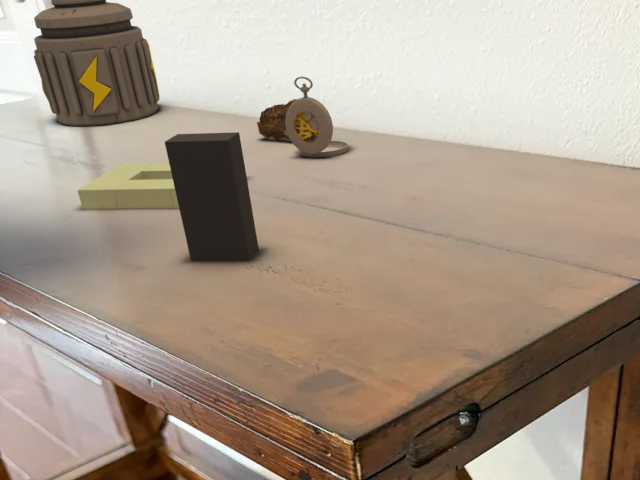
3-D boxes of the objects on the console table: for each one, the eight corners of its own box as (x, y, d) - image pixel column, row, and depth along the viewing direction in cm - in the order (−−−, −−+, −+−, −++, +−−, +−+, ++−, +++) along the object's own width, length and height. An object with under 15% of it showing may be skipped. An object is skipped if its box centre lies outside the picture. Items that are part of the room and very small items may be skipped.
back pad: (191, 264, 79) (164, 141, 72) (202, 254, 81) (177, 133, 74) (250, 264, 78) (228, 140, 71) (259, 254, 80) (239, 132, 73)
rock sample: (339, 102, 119) (297, 65, 113) (339, 147, 118) (296, 113, 111) (289, 133, 126) (246, 100, 119) (288, 176, 124) (245, 145, 117)
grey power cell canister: (58, 112, 150) (-1, -94, 131) (162, 100, 152) (118, -103, 134) (48, 132, 135) (-21, -97, 117) (163, 119, 138) (113, -106, 119)
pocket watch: (344, 146, 114) (336, 65, 108) (354, 160, 108) (346, 74, 102) (286, 153, 113) (275, 71, 107) (293, 167, 107) (281, 81, 101)
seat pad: (83, 212, 96) (76, 189, 94) (127, 183, 105) (121, 163, 103) (211, 210, 93) (206, 187, 92) (244, 181, 102) (241, 160, 101)
